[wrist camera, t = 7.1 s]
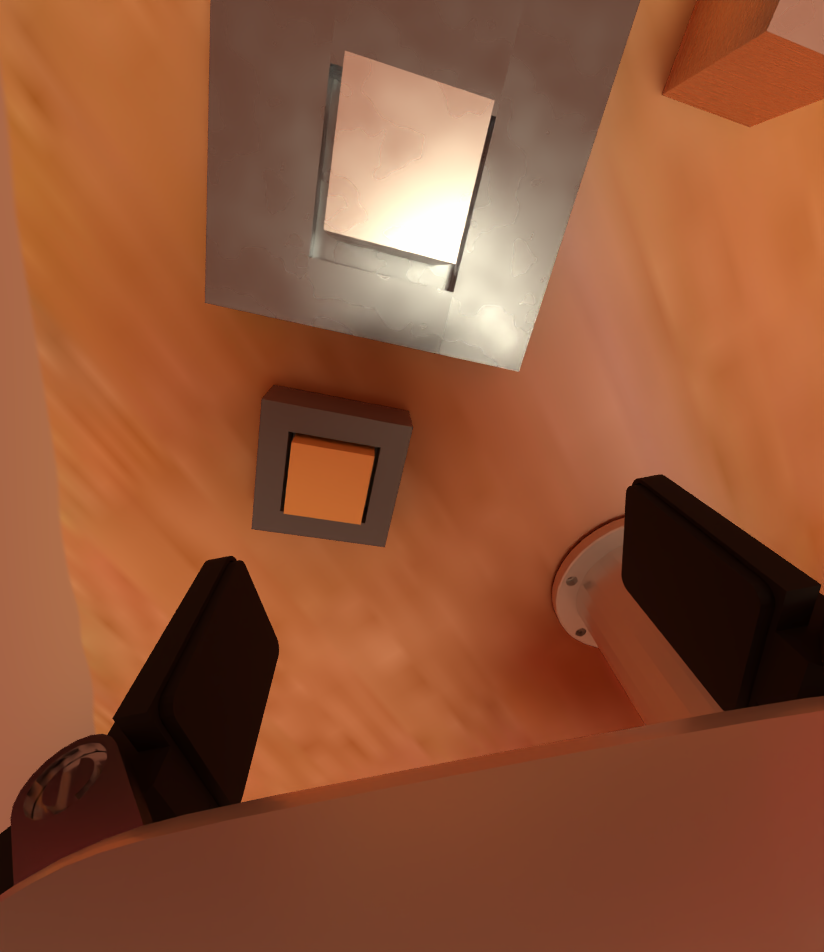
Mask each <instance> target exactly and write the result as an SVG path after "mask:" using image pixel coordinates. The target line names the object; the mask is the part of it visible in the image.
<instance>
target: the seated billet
mask: <svg viewBox="0 0 824 952" xmlns="http://www.w3.org/2000/svg"><path fill="white" fill-rule="evenodd" d="M494 101H495V100H492V99H489V98H486V97H483V96H480V95H477V94H474V93H471V92H468V91H465V90H462V89H459V88H456V87H453V86H450V85H447V84H444V83H441V82H438V81H435V80H432V79H429V78H426V77H423V76H420V75H417V74H414V73H411V72H408V71H405V70H402V69H399V68H396V67H393V66H390V65H387V64H384V63H381V62H378V61H375V60H372V59H369V58H366V57H363V56H360V55H357V54H354V53H351V52H348V51H345V54H344V62H343V71H342V79H341V87H340V96H339V104H338V113H337V121H336V129H335V138H334V146H333V155H332V163H331V171H330V180H329V188H328V197H327V205H326V213H325V222H324V231H326V232H327V233H328V234H329V235H330V236H331V237H333V238H334V239H335V240H336V241H340V242H344V243H347V244H351V245H355V246H359V247H363V248H367V249H371V250H375V251H379V252H383V253H387V254H390V255H394V256H398V257H402V258H406V259H410V260H414V261H418V262H422V263H426V264H429V265H433V266H438V265H449V264H456V260H457V256H458V251H459V247H460V243H461V239H462V235H463V231H464V226H465V222H466V218H467V214H468V210H469V206H470V201H471V197H472V193H473V189H474V185H475V180H476V176H477V172H478V168H479V164H480V160H481V155H482V151H483V147H484V143H485V139H486V135H487V130H488V126H489V122H490V118H491V114H492V109H493V105H494Z"/></svg>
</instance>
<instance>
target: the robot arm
mask: <svg viewBox="0 0 824 952" xmlns="http://www.w3.org/2000/svg"><path fill="white" fill-rule="evenodd" d="M820 587H821V584H819V583H818V582H817V581H815V580H814V579H812V578H811V577H809V576H808V575H807V574H805V573H804V572H802V571H801V570H799V569H798V568H796V567H795V566H794V565H792V564H791V563H789V562H788V561H786V560H785V559H784V558H782V557H781V556H779V555H778V554H776V553H775V552H773V551H772V550H771V549H769V548H768V547H766V546H765V545H763V544H762V543H761V542H759V541H758V540H756V539H755V538H753V537H752V536H751V535H749V534H748V533H746V532H745V531H743V530H742V529H740V528H739V527H738V526H736V525H735V524H733V523H732V522H730V521H729V520H728V519H726V518H725V517H723V516H722V515H720V514H719V513H717V512H716V511H715V510H713V509H712V508H710V507H709V506H707V505H706V504H705V503H703V502H702V501H700V500H699V499H697V498H696V497H694V496H693V495H692V494H690V493H689V492H687V491H686V490H684V489H683V488H682V487H680V486H679V485H677V484H676V483H674V482H673V481H671V480H670V479H669V478H667V477H666V476H664V475H654V476H649V477H643V478H638V479H636V480H634V482H633V484H632V486H629V487H628V488H627V490H626V502H625V517H624V518H621V519H618V520H615V521H613V522H611V523H609V524H607V525H605V526H603V527H601V528H599V529H597V530H596V531H594V532H593V533H591V534H590V535H589V536H587V537H586V538H584V539H583V540H582V541H581V542H580V543H579V544H578V545H577V546H576V547H575V548H574V549H573V550H572V551H571V552H570V553H569V555H568V556H567V557H566V558H565V560H564V561H563V562H562V564H561V566H560V568H559V570H558V572H557V574H556V576H555V580H554V584H553V587H552V603H553V608H554V611H555V613H556V615H557V617H558V619H559V621H560V623H561V625H562V626H563V628H564V629H565V630H566V632H567V633H568V634H569V635H571V636H572V637H573V638H574V639H576V640H578V641H580V642H582V643H584V644H586V645H590V646H593V647H597V648H599V649H600V651H601V652H602V654H603V656H604V657H605V659H606V661H607V662H608V664H609V666H610V667H611V669H612V671H613V672H614V674H615V676H616V677H617V679H618V681H619V682H620V684H621V685H622V687H623V689H624V690H625V692H626V694H627V695H628V697H629V699H630V700H631V702H632V704H633V705H634V707H635V709H636V710H637V712H638V714H639V715H640V717H641V719H642V720H643V722H644V724H645V725H646V726H640V727H635V728H629V729H624V730H618V731H613V732H607V733H602V734H596V735H591V736H585V737H580V738H574V739H569V740H564V741H558V742H553V743H548V744H542V745H537V746H531V747H526V748H521V749H515V750H510V751H505V752H499V753H494V754H489V755H483V756H478V757H473V758H467V759H462V760H457V761H452V762H446V763H441V764H436V765H430V766H425V767H420V768H414V769H409V770H404V771H399V772H394V773H388V774H383V775H378V776H373V777H368V778H363V779H357V780H352V781H347V782H342V783H337V784H332V785H327V786H321V787H316V788H311V789H306V790H301V791H296V792H290V793H285V794H280V795H275V796H270V797H265V798H261V799H256V800H251V801H247V802H242V803H240V802H241V800H242V797H243V793H244V789H245V785H246V781H247V777H248V773H249V769H250V765H251V761H252V757H253V754H254V750H255V746H256V742H257V738H258V734H259V730H260V726H261V722H262V718H263V714H264V710H265V706H266V702H267V699H268V695H269V691H270V687H271V683H272V679H273V675H274V671H275V667H276V663H277V659H278V655H279V644H278V640H277V637H276V635H275V633H274V630H273V628H272V626H271V623H270V621H269V619H268V616H267V614H266V612H265V610H264V607H263V605H262V603H261V600H260V598H259V596H258V593H257V591H256V589H255V586H254V584H253V582H252V579H251V577H250V575H249V572H248V570H247V568H246V566H245V564H244V562H243V561H241V560H239V561H237V560H236V559H235V558H234V557H233V556H228V557H222V558H217V559H212V560H208V561H206V562H205V563H204V565H203V566H202V568H201V570H200V572H199V573H198V575H197V577H196V578H195V580H194V582H193V583H192V585H191V587H190V588H189V590H188V592H187V594H186V595H185V597H184V599H183V600H182V602H181V604H180V605H179V607H178V609H177V610H176V612H175V614H174V615H173V617H172V619H171V621H170V622H169V624H168V626H167V627H166V629H165V631H164V632H163V634H162V636H161V637H160V639H159V641H158V643H157V644H156V646H155V648H154V649H153V651H152V653H151V654H150V656H149V658H148V659H147V661H146V663H145V664H144V666H143V668H142V670H141V671H140V673H139V675H138V676H137V678H136V680H135V681H134V683H133V685H132V686H131V688H130V690H129V692H128V693H127V695H126V697H125V698H124V700H123V702H122V703H121V705H120V707H119V708H118V710H117V712H116V713H115V715H114V717H113V720H114V721H115V723H114V724H113V726H112V728H111V730H110V731H109V733H108V735H105V734H97V735H90V736H87V737H85V738H82V739H79V740H77V741H75V742H73V743H71V744H69V745H68V746H66V747H64V748H63V749H61V750H60V751H58V752H57V753H56V754H54V755H53V756H52V757H51V758H50V759H48V760H47V761H46V762H45V763H44V764H43V765H42V766H41V767H40V768H39V769H38V770H37V771H36V772H35V773H34V774H33V775H32V776H31V777H30V778H29V780H28V781H27V782H26V784H25V785H24V786H23V788H22V789H21V790H20V792H19V794H18V796H17V798H16V800H15V802H14V805H13V807H12V813H11V826H10V827H8V828H7V829H6V830H5V831H3V832H2V833H1V834H0V952H824V595H822V594H821V593H819V591H820Z"/></svg>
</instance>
